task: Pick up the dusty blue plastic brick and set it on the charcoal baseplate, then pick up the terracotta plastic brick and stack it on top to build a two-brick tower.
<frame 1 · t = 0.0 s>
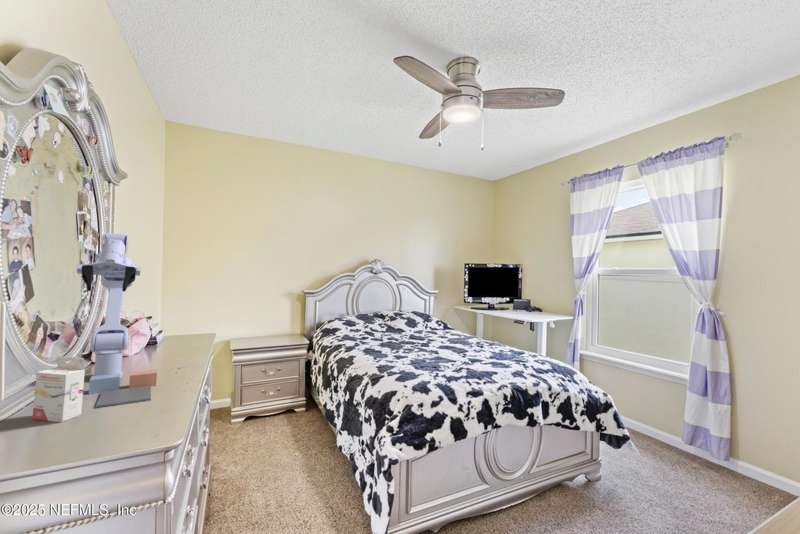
hand: (106, 288, 97), 32 cm above the table, tool tilted 50°, fingers open, 7 cm apart
baseplate: (125, 396, 101), on the table
lower brick: (104, 391, 105), on the table
ink cartridge box: (57, 418, 85), on the table
upper brick: (142, 386, 111), on the table
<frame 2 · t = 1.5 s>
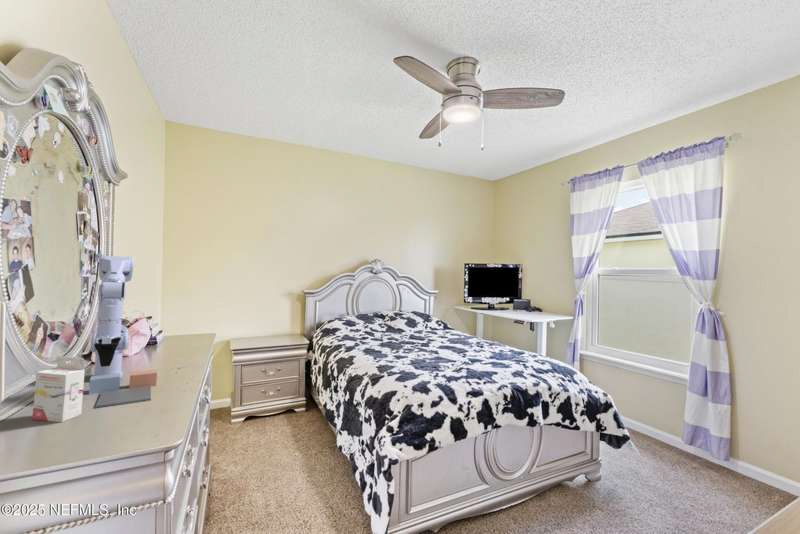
hand: (106, 363, 106), 8 cm above the table, tool pointing down, fingers open, 7 cm apart
nothing on the table moved.
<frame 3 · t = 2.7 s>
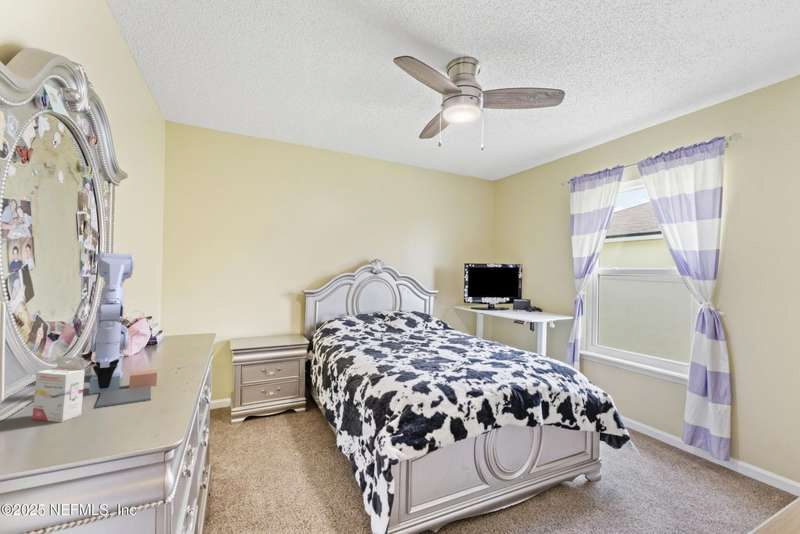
hand: (105, 385, 105), 1 cm above the table, tool pointing down, fingers closed on lower brick, 4 cm apart
lower brick: (104, 390, 105), on the table, touching gripper
everything else where it was.
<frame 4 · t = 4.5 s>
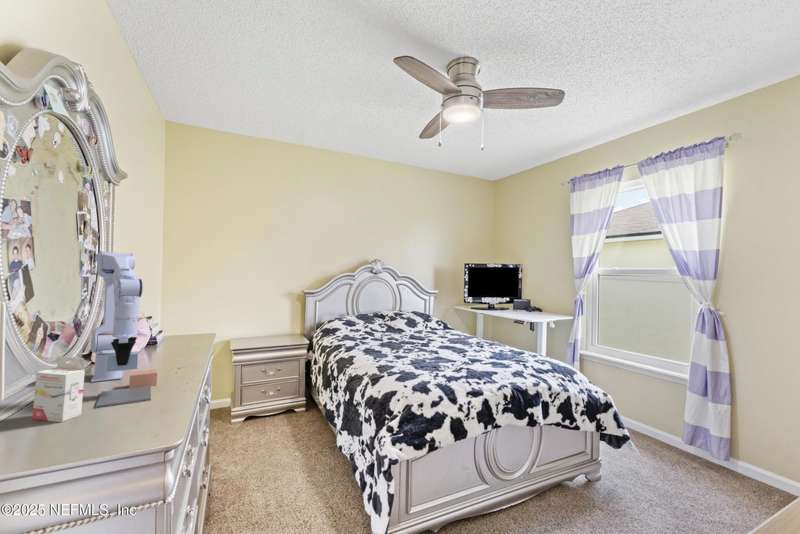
hand: (122, 363, 102), 10 cm above the table, tool pointing down, fingers closed on lower brick, 4 cm apart
lower brick: (122, 368, 102), point 8 cm above the table, touching gripper
everything else where it was.
when the fingers open (3 cm above the table, at t = 6.4 s): lower brick stays where it is, resting on baseplate.
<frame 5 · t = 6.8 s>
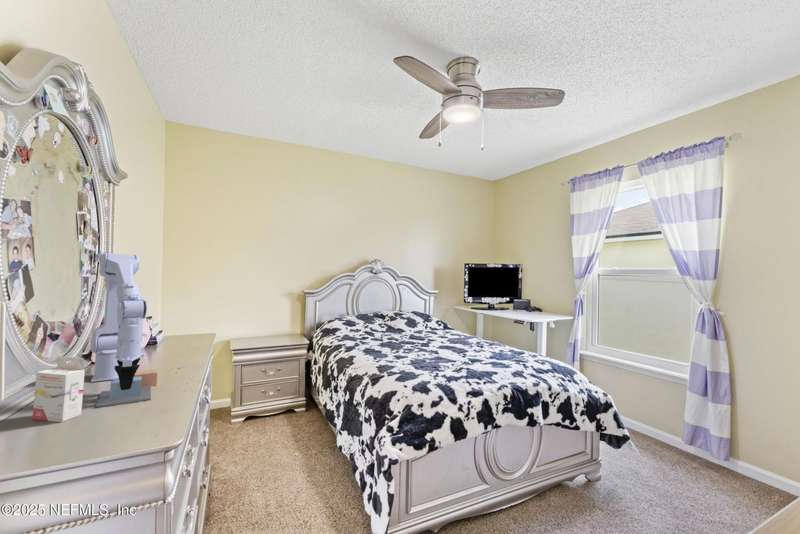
hand: (126, 385, 101), 3 cm above the table, tool pointing down, fingers open, 7 cm apart
lower brick: (125, 394, 101), point 1 cm above the table, touching baseplate
everything else where it was.
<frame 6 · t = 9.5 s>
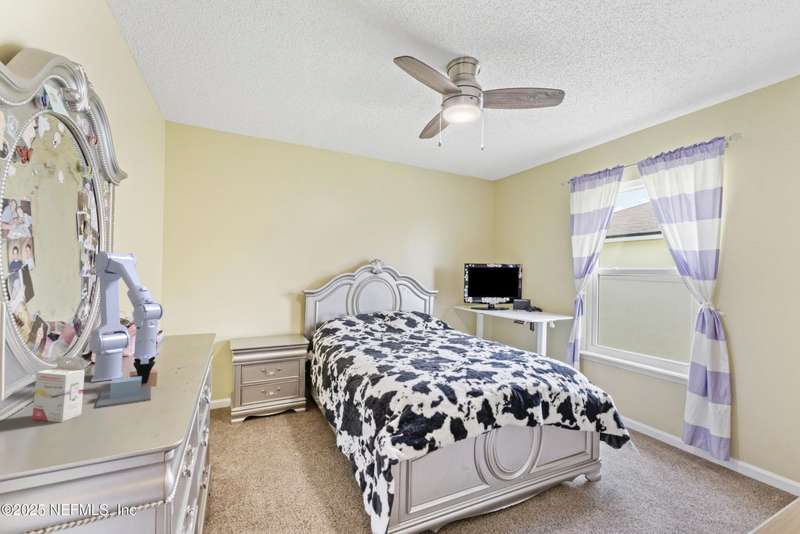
hand: (143, 381, 111), 1 cm above the table, tool pointing down, fingers closed on upper brick, 5 cm apart
upper brick: (142, 385, 111), on the table, touching gripper
everything else where it was.
when the fingers open (8 cm above the table, at t = 13.3 s): upper brick stays where it is, resting on lower brick.
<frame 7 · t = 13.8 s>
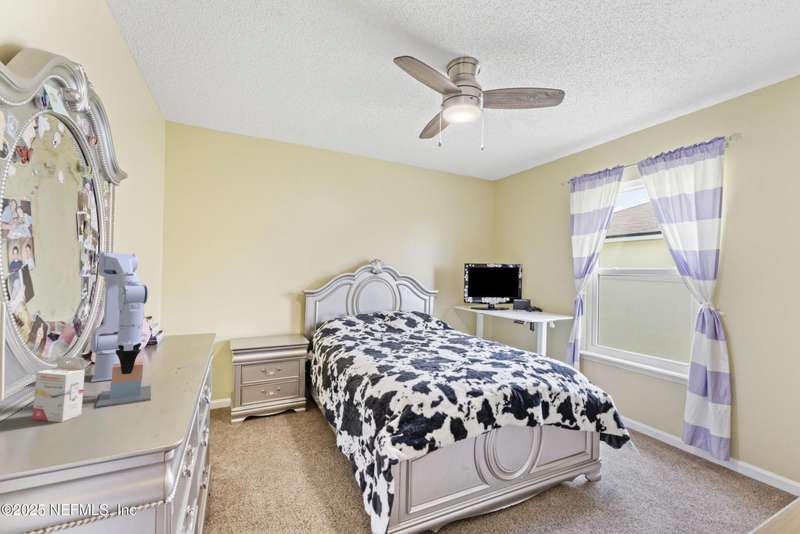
hand: (127, 370, 101), 8 cm above the table, tool pointing down, fingers open, 7 cm apart
lower brick: (125, 394, 101), point 1 cm above the table, touching baseplate, upper brick
upper brick: (127, 379, 101), point 5 cm above the table, touching lower brick
everything else where it was.
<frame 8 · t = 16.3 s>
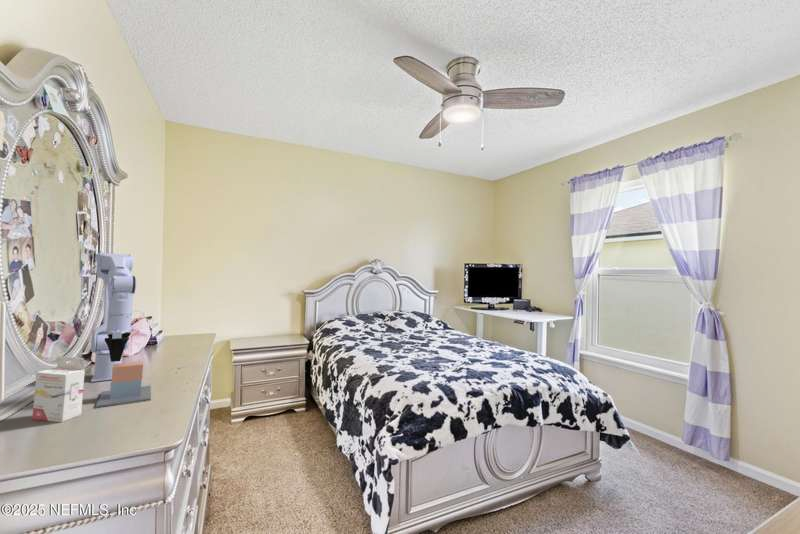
hand: (116, 358, 104), 10 cm above the table, tool pointing down, fingers open, 7 cm apart
nothing on the table moved.
at the end: lower brick 0.1 cm off-centre on the baseplate, point 0.6 cm above the baseplate's base; upper brick 0.1 cm off-centre on the lower brick, point 4.5 cm above the lower brick's base; upper brick tilted 0° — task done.
